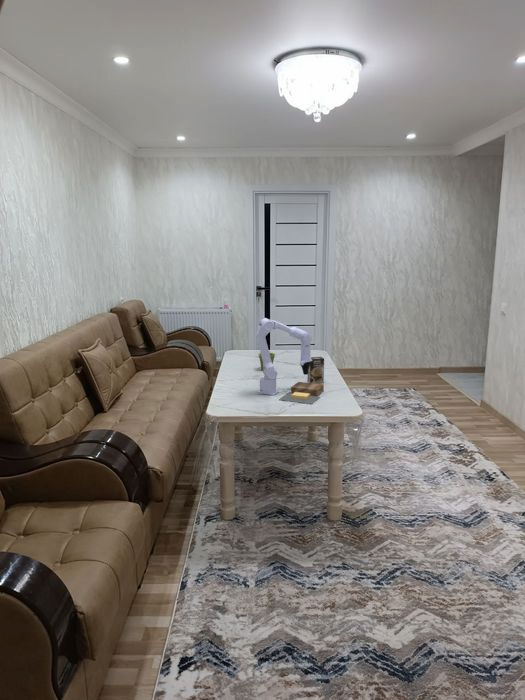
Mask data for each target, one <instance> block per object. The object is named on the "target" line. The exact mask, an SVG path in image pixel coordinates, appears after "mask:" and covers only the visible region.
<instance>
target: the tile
mask: <svg viewBox="0 0 525 700" xmlns="http://www.w3.org/2000/svg"><path fill="white" fill-rule="evenodd" d="M309 397H310V394H309V393H300V392H295V393H293V394H292V395H291V398H293V399H302V400H307V399H308V398H309Z"/></svg>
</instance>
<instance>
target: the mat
mask: <svg viewBox="0 0 525 700" xmlns="http://www.w3.org/2000/svg"><path fill="white" fill-rule="evenodd" d="M292 394H293V393H291V392H287V393H285V394H283V396H282V397H280V398H279V399H278V401H282V402H288V401H289V402H291V403H296V402H299V403H298V404H305V403H309V404H308V405H314V404H315V403H316V402H317V401H318V400H319V399H321V396H310V397H309V398H308V399H307V400H302V399H293V398H291V395H292ZM315 401H316V402H315ZM289 402H288V403H289ZM314 402H315V403H314ZM313 403H314V404H313Z"/></svg>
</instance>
